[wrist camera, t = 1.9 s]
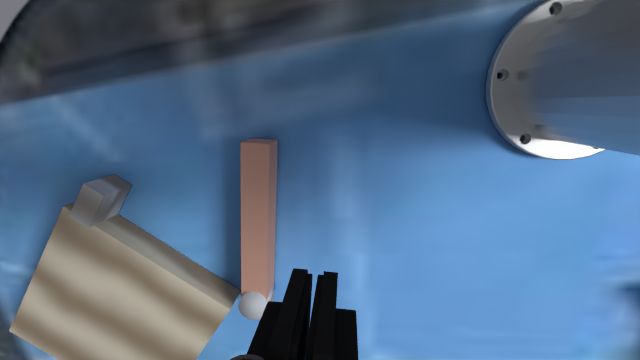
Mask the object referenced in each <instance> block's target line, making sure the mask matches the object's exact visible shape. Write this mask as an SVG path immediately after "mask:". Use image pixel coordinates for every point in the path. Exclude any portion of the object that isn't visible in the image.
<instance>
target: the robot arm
mask: <svg viewBox="0 0 640 360" xmlns="http://www.w3.org/2000/svg"><path fill="white" fill-rule="evenodd" d="M549 9H550V11H551V13H550V12H549ZM498 73H499V74H500V78H499V79H498V78H497V74H498ZM486 102H487V106H488V110H489V114H490V117H491V119H492V121H493V123H494V125H495V127H496V129H497V130H498V131H499V133H500V134H501V135H502V136H503V137H504V139H505V140H507V141H508V142H509V143H510V144H512V145H513V146H514V147H515V148H517V149H519V150H521V151H523V152H526V153H528V154H531V155H534V156H537V157H541V158H547V159H553V160H572V159H577V158H582V157H587V156H590V155H593V154H596V153H599V152H602V151H604V150H605V149H606V150H612V151H617V152H623V153H629V154H634V155H640V0H548V1H546V2H544V3H542V4H540V5H538V6H537V7H536V8H534V9H533V10H531V11H530V12H528V13H527V14H525V15H524V16H523V17H522V18H521V19H520V20H519V21H518V22H517V23H516V24H515V25H513V26H512V28H511V29H510V30H509V31H508V33H507V34H506V35H505V37H504V38H503V39H502V41H501V42H500V44H499V46H498V48H497V50H496V52H495V54H494V55H493V58H492V61H491V64H490V67H489V70H488V75H487V82H486ZM521 136H522V139H521V140H520V137H521ZM337 278H338V273H335V272H325V271H324V275H318V279H317V285H316V291H315V297H314V303H313V309H312V315H311V321H310V308H311V291H312V274H308V270H305V269H295V268H294V269H293V271H292V274H291V277H290V281H289V284H288V287H287V290H286V293H285V296H284V299H283V302H273V301H268V303H267V305H266V307H265V310H264V312H263V315H262V317H261V320H260V322H259V325H258V327H257V330H256V332H255V335H254V337H253V340H252V342H251V345H250V347H249V350H248V352H247V354H245V355H239V356H237V357H234V358H232V359H230V360H358V345H357V323H356V311H355V310H346V309H337V308H336V297H337ZM309 324H310V327H309Z"/></svg>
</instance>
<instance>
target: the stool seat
mask: <svg viewBox="0 0 640 360" xmlns="http://www.w3.org/2000/svg"><path fill="white" fill-rule="evenodd" d="M131 186H132V185H131V184H129V183H128V182H126V181H125V180H123V179H121V178H120V177H118V176H117V175H115V174H113V175H109V176H106V177H103V178H100V179H96V180H93V181H90V182H86V183H83V185H82V188H81V190H80V192H79V194H78V197H77V199H76V201H75V202H74V203H71V204H69V205H66V206H63V208H62V210H61V213H60V215H59V217H58V219H57V222H56V224H55V226H54V229H53V231H52V233H51V236H50V238H49V240H48V242H47V245H46V247H45V249H44V252H43V254H42V256H41V259H40V261H39V263H38V266H37V268H36V270H35V272H34V275H33V277H32V279H31V282H30V284H29V286H28V289H27V291H26V293H25V295H24V298H23V300H22V302H21V305H20V307H19V309H18V312H17V314H16V316H15V318H14V321H13V323H12V325H11V328H10V330H9V331H10V332H12V333H13V334H15V335H17V336H19V337H20V338H22V339H24V340H26V341H27V342H29V343H31V344H32V345H34V346H36V347H38V348H39V349H41V350H43V351H45V352H46V353H48V354H50V355H51V356H53V357H55V358H57V359H58V360H196V358H197V357H198V355H199V354H200V353H201V351H202V350H203V348H204V347H205V345H206V344H207V342H208V341H209V340H210V338H211V337H212V335H213V334H214V332H215V331H216V329H217V328H218V326H219V325H220V324H221V322H222V321H223V319H224V318H225V316H226V315H227V313H228V312H229V311H230V309H231V307H232V305H233V304H234V302H235V300H236V298H237V297H238V295H239V293H240V291H241V290H239V289H237V288H236V287H234V286H232V285H231V284H229V283H228V282H226V281H224V280H223V279H221V278H220V277H218V276H216V275H215V274H213V273H212V272H210V271H208V270H207V269H205V268H204V267H202V266H200V265H199V264H197V263H196V262H194V261H192V260H191V259H189V258H188V257H186V256H184V255H183V254H181V253H180V252H178V251H176V250H175V249H173V248H172V247H170V246H168V245H167V244H165V243H163V242H162V241H160V240H159V239H157V238H155V237H154V236H152V235H151V234H149V233H147V232H146V231H144V230H143V229H141V228H139V227H138V226H136V225H135V224H133V223H131V222H130V221H128V220H127V219H125V218H123V217H122V216H120V215H119V214H118V212H119V210H120V208H121V206H122V204H123V202H124V200H125V198H126V196H127V194H128V192H129V190H130V188H131Z"/></svg>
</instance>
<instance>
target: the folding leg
mask: <svg viewBox="0 0 640 360" xmlns="http://www.w3.org/2000/svg"><path fill="white" fill-rule="evenodd" d="M277 156H278V140H271V139H257V138H251V139H248V140H245V141H242V142H241V299H240V301H239V305H238V307H239V311H240V312H241V314H242V315H243V316H245V317H246V318H248V319H259V318H261V317H262V315H263V312H264V310H265V307H266V305H267V303H268V301H272V300H273V297H274V289H275V283H274V271H275V233H276V195H277Z"/></svg>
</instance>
